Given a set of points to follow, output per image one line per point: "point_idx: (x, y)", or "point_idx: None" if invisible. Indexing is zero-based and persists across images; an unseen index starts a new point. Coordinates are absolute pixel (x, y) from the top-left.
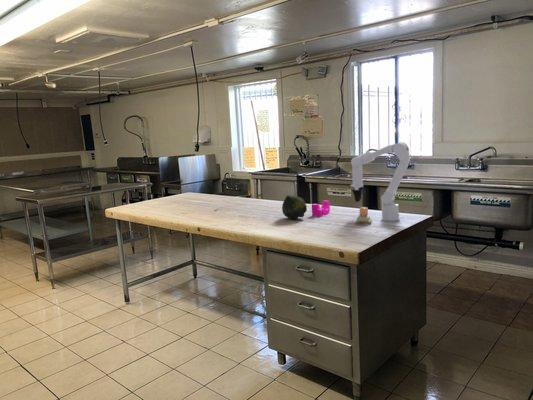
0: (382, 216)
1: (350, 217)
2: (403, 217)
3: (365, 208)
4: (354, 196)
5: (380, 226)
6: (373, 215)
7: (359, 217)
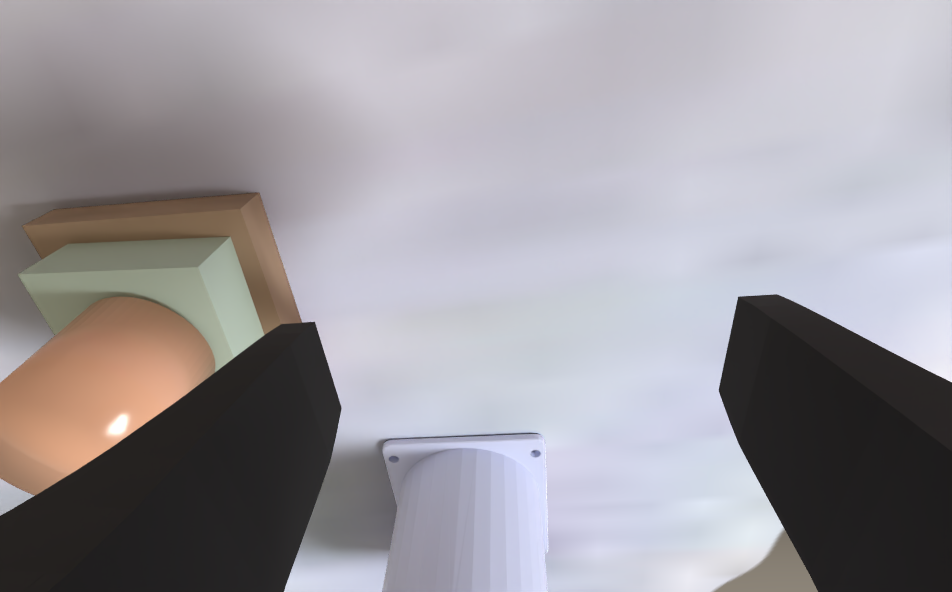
0: (427, 478)
1: (519, 8)
2: (551, 574)
3: (40, 482)
4: (118, 442)
5: None
6: (667, 343)
7: (39, 304)
